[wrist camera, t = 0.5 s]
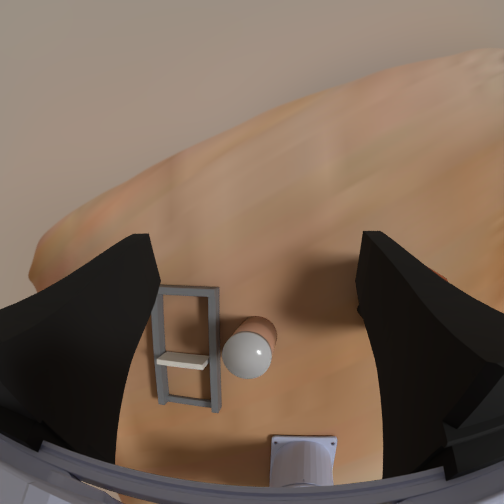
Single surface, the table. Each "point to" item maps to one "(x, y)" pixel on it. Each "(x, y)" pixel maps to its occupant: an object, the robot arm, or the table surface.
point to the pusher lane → (213, 345)
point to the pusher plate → (183, 360)
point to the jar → (250, 348)
